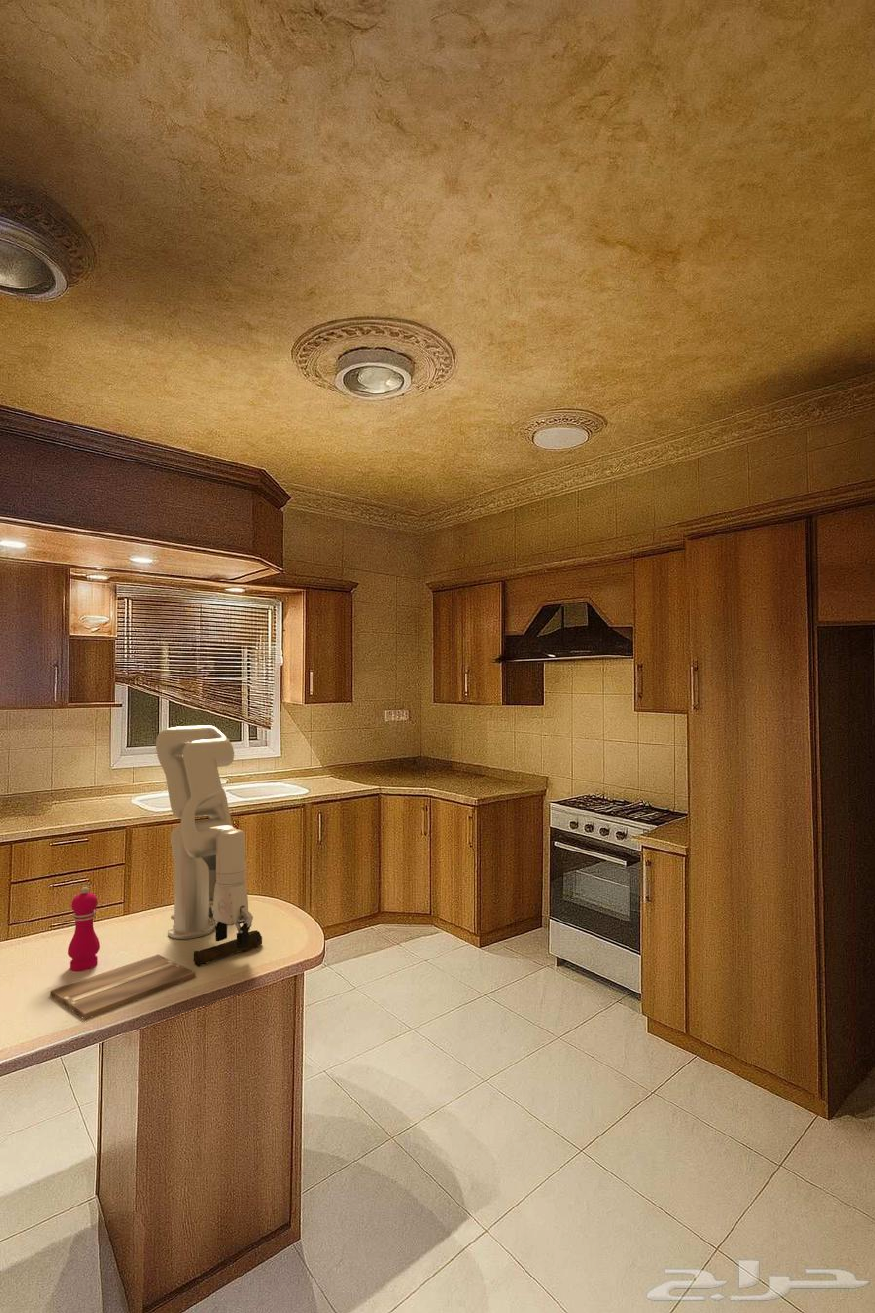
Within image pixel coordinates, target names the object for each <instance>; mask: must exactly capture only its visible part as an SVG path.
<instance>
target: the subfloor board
mask: <svg viewBox="0 0 875 1313" xmlns="http://www.w3.org/2000/svg"><path fill="white" fill-rule="evenodd" d="M196 976H197V973H196V972H195V971H194V970H191V969H190V968H188V967H185V966H183V965H182V964H180V963H177V962H175V961H173V960H171V959H169V958H166V957H165V956H163V955H160V954H155V955H152V956H150V957H147V958H144V959H140V960H137V961H135V962H131V963H129V964H125V965H123V966H120V967H117V968H114V969H110V970H108V971H105V972H102V973H99V974H96V975H92V976H90V977H88V978H84V979H80V980H78V981H76V982H71V983H68V984H67V985H63V986H59V987H57V988H54V989H52V990H50V997H51V996H52V997H51V998H53V999H54V1000H56V1001H57V1002H59V1003H60V1004H61V1003H62V1005H63V1006H64V1005H65V1006H64V1007H66V1006H67V1007H68V1008H67V1007H66V1008H67V1009H68V1010H70V1009H71V1010H73V1011H74V1012H75V1014H76V1013H77V1014H78V1015H77V1014H76V1015H77V1016H79V1015H80V1016H81V1017H83V1018H84V1019H85V1020H88V1019H90V1018H89V1017H91V1016H93V1017H96V1016H98V1014H99V1015H100V1014H104V1013H106V1012H109V1011H111V1010H114V1009H117V1008H119V1007H122V1006H124V1005H127V1004H130V1003H133V1002H135V1001H138V1000H140V999H143V998H145V997H147V996H151V995H154V994H156V993H158V992H161V991H163V990H166V989H169V988H171V987H174V986H177V985H179V984H182V983H185V982H187V981H190V980H192V979H195V978H196ZM137 999H138V1000H137ZM134 1000H135V1001H134ZM132 1001H133V1002H132ZM71 1010H70V1011H71ZM73 1011H72V1012H73ZM74 1012H73V1013H74ZM95 1015H96V1016H95ZM80 1016H79V1017H80ZM83 1018H82V1019H83ZM87 1018H88V1019H87ZM91 1018H92V1017H91ZM84 1019H83V1020H84Z"/></svg>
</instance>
